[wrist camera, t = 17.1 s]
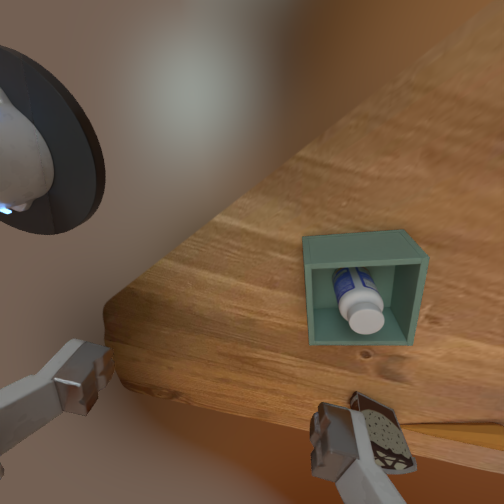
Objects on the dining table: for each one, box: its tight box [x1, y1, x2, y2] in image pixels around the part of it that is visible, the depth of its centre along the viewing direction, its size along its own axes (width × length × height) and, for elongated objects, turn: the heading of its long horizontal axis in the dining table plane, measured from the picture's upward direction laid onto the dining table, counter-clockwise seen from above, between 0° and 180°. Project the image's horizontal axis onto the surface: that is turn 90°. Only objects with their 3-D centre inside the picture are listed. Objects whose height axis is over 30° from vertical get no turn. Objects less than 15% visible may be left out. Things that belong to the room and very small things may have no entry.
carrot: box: [400, 422, 504, 451], centre depth 53 cm, size 20×4×4 cm, turn 103°
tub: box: [302, 229, 430, 346], centre depth 37 cm, size 14×14×8 cm
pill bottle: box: [332, 267, 384, 334], centre depth 35 cm, size 5×5×10 cm
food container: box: [350, 391, 417, 474], centre depth 50 cm, size 12×6×10 cm, turn 61°
